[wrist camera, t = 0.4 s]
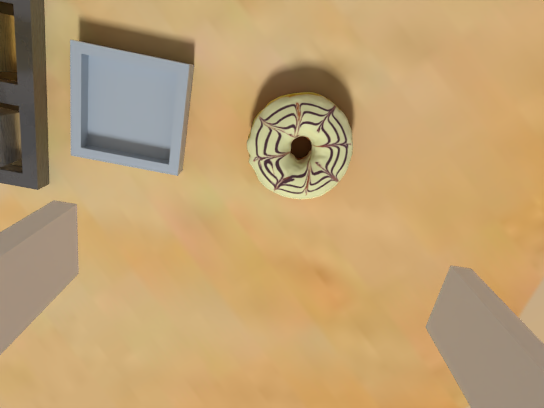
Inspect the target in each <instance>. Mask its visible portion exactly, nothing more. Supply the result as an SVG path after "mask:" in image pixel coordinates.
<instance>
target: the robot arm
mask: <svg viewBox="0 0 544 408" xmlns="http://www.w3.org/2000/svg"><path fill="white" fill-rule="evenodd" d="M77 275H78V234H77V204H73V203H67V202H61V201H55V200H54V201H52V202H50V203H49V204H47V205H45V206H44V207H42V208H40V209H39V210H37V211H35V212H33V213H32V214H30V215H28V216H27V217H25V218H23V219H22V220H20V221H18V222H17V223H15V224H13V225H12V226H10V227H8V228H7V229H5V230H3V231H2V232H0V355H1V354H2V353H3V352H4V350H5V349H6V348H7V347H8V346H9V345H10V344H11V343H12V342H13V341H14V340H15V339H16V338H17V337H18V336H19V335H20V334H21V333H22V332H23V331H24V330H25V329H26V328H27V327H28V326H29V324H30V323H31V322H32V321H33V320H34V319H35V318H36V317H37V316H38V315H39V314H40V313H41V312H42V311H43V310H44V309H45V308H46V307H47V306H48V305H49V304H50V303H51V302H52V301H53V300H54V299H55V297H56V296H57V295H58V294H59V293H60V292H61V291H62V290H63V289H64V288H65V287H66V286H67V285H68V284H69V283H70V282H71V281H72V280H73V279H74V278H75V277H76V276H77ZM426 329H427V331H428V333H429V334H430V336H431V338H432V340H433V341H434V343H435V345H436V347H437V348H438V350H439V352H440V354H441V355H442V357H443V359H444V361H445V362H446V364H447V366H448V368H449V369H450V371H451V373H452V375H453V376H454V378H455V380H456V382H457V384H458V385H459V387H460V389H461V391H462V392H463V394H464V396H465V398H466V399H467V401H468V403H469V405H470V406H471V408H544V344H543V343H542V342H541V341H540V340H539V339H538V338H537V337H536V336H535V335H534V334H533V333H532V331H531V330H530V329H529V328H528V327H527V326H526V325H525V324H524V323H523V322H522V321H521V320H520V319H519V318H518V317H517V316H516V315H515V314H514V313H513V312H512V311H511V310H510V309H509V307H508V306H507V305H506V304H505V303H504V302H503V301H502V300H501V299H500V298H499V297H498V296H497V295H496V294H495V293H494V292H493V291H492V290H491V289H490V288H489V287H488V286H487V285H486V284H485V282H484V281H483V280H482V279H481V278H480V277H479V276H478V275H477V274H476V273H475V272H474V271H473V270H472V269H470V268H464V267H458V266H452V265H451V266H450V268H449V271H448V273H447V276H446V278H445V281H444V283H443V285H442V288H441V290H440V293H439V295H438V298H437V300H436V303H435V305H434V308H433V310H432V312H431V315H430V317H429V320H428V322H427V325H426Z"/></svg>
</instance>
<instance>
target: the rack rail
mask: <svg viewBox="0 0 544 408" xmlns="http://www.w3.org/2000/svg"><path fill="white" fill-rule="evenodd" d="M0 1H1V2H6V3H10V4H13V8H14V26H15V44H16V62H17V80H18V81H13V80H8V79H3V78H0V102H1V103H6V104H11V105H16V106H19V116H20V134H21V152H22V166H18V165H13V164H7V165H5V166H2V167H0V183H4V184H10V185H15V186H20V187H26V188H31V189H37V190H38V189H40V188H42V187H44V186H46V185H48V184H49V166H48V131H47V96H46V61H45V25H44V0H0Z"/></svg>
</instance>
